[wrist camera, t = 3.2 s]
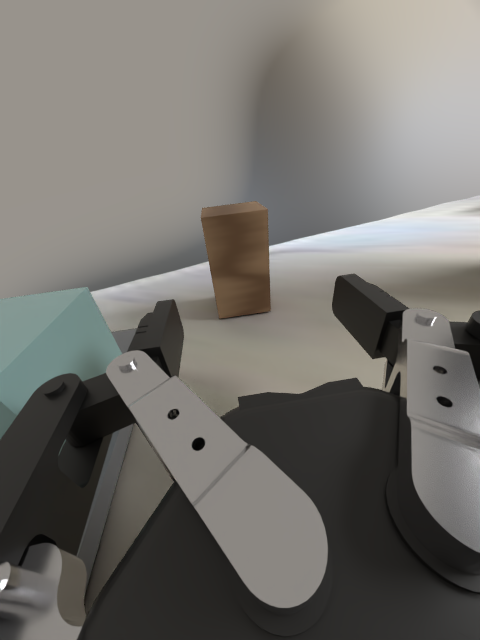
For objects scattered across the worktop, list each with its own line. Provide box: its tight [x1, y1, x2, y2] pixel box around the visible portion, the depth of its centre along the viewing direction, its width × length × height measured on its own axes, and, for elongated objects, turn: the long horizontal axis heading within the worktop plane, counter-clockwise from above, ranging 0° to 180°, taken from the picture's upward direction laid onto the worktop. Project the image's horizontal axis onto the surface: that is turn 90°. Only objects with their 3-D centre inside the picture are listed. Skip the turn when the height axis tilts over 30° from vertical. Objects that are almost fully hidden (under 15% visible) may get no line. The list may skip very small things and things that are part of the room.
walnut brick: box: [201, 201, 271, 319], centre depth 22 cm, size 5×5×9 cm
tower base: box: [0, 287, 137, 595], centre depth 12 cm, size 9×16×7 cm, turn 7°
